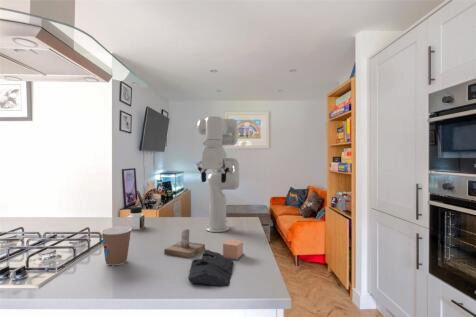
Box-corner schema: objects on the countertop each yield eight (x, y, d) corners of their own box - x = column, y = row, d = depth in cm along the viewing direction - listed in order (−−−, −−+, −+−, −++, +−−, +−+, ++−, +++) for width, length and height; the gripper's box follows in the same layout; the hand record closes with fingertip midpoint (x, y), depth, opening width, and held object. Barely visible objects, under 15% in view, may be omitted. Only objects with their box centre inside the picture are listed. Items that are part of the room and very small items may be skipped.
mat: (227, 252, 112) (227, 251, 112) (244, 254, 109) (244, 253, 109) (220, 258, 104) (220, 257, 104) (237, 260, 102) (237, 259, 102)
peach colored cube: (222, 256, 105) (223, 243, 105) (229, 252, 111) (229, 239, 111) (237, 258, 103) (237, 245, 103) (242, 254, 108) (242, 241, 108)
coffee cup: (101, 259, 102) (102, 227, 102) (130, 256, 106) (131, 225, 106) (99, 269, 93) (100, 234, 93) (131, 265, 97) (132, 231, 97)
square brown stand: (180, 245, 120) (180, 225, 120) (204, 248, 116) (204, 227, 116) (164, 254, 109) (164, 231, 109) (190, 258, 104) (190, 234, 104)
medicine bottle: (139, 229, 148) (140, 207, 148) (126, 229, 148) (127, 207, 148) (144, 226, 155) (144, 205, 155) (132, 226, 155) (132, 205, 155)
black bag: (179, 288, 81) (180, 272, 81) (194, 261, 103) (194, 248, 103) (230, 289, 80) (230, 273, 80) (234, 261, 102) (234, 249, 102)
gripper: (192, 144, 121) (192, 182, 121) (228, 143, 115) (228, 183, 115) (200, 145, 128) (200, 181, 128) (234, 144, 122) (234, 182, 122)
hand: (213, 182), depth 121 cm, fingers open, 9 cm apart
